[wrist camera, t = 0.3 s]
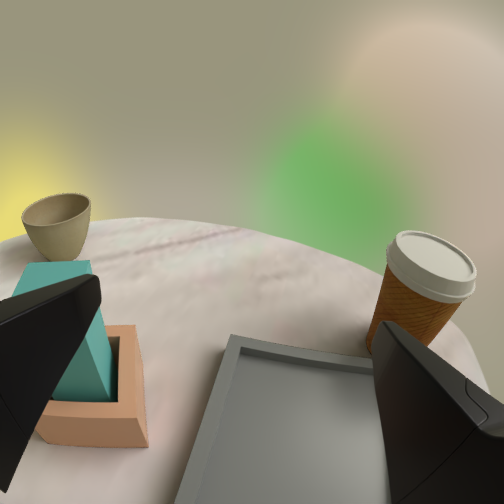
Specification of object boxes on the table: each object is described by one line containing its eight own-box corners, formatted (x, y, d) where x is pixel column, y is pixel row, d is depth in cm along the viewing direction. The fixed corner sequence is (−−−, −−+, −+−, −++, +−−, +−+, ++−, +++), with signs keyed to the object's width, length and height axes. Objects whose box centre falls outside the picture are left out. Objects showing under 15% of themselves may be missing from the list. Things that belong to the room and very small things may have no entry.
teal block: (122, 425, 20) (76, 309, 14) (71, 424, 19) (5, 309, 12) (121, 382, 24) (89, 260, 17) (74, 381, 22) (28, 262, 16)
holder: (148, 447, 19) (136, 417, 16) (48, 443, 17) (20, 412, 14) (143, 363, 26) (135, 324, 23) (58, 364, 23) (41, 326, 21)
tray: (398, 548, 12) (412, 544, 11) (169, 529, 13) (166, 526, 12) (388, 374, 27) (396, 361, 26) (229, 348, 29) (230, 334, 28)
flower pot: (34, 244, 39) (25, 200, 35) (92, 231, 44) (87, 188, 40) (31, 281, 32) (17, 231, 28) (101, 266, 37) (93, 215, 33)
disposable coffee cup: (367, 307, 36) (400, 219, 30) (433, 338, 32) (478, 254, 26) (338, 355, 29) (379, 252, 23) (418, 394, 25) (483, 300, 19)
